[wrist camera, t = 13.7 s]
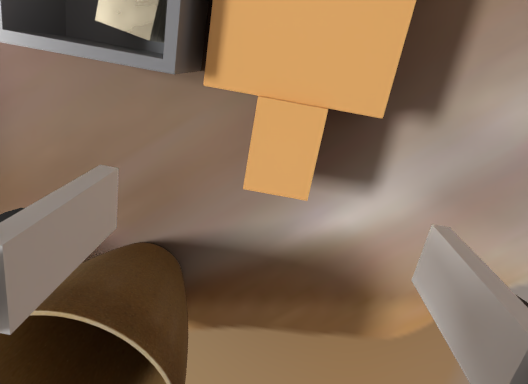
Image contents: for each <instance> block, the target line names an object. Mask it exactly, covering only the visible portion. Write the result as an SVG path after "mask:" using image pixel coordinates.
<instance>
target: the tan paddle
mask: <svg viewBox="0 0 528 384" xmlns="http://www.w3.org/2000/svg"><path fill="white" fill-rule="evenodd" d="M415 3H416V0H213V4H212V13H211V22H210V31H209V40H208V49H207V57H206V66H205V75H204V84H203V85H204V86H209V87H214V88H220V89H225V90H231V91H236V92H241V93H247V94H252V95H258V100H257V106H256V112H255V119H254V125H253V131H252V137H251V143H250V149H249V155H248V161H247V167H246V174H245V180H244V186H243V189H246V190H251V191H257V192H262V193H268V194H273V195H278V196H284V197H289V198H295V199H300V200H306V201H307V200H308V195H309V191H310V187H311V182H312V178H313V174H314V169H315V165H316V161H317V156H318V152H319V148H320V143H321V139H322V135H323V130H324V126H325V122H326V117H327V113H328V109H333V110H339V111H344V112H350V113H355V114H361V115H366V116H371V117H377V118H382V119H383V116H384V112H385V109H386V105H387V102H388V98H389V95H390V91H391V88H392V84H393V80H394V77H395V73H396V70H397V66H398V63H399V59H400V56H401V52H402V49H403V45H404V42H405V38H406V35H407V31H408V28H409V24H410V21H411V17H412V14H413V10H414V7H415Z"/></svg>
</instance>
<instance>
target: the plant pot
mask: <svg viewBox="0 0 528 384" xmlns="http://www.w3.org/2000/svg"><path fill="white" fill-rule="evenodd" d="M187 353H188V312H187V300H186V292H185V286H184V280H183V275H182V271H181V268H180V265H179V263H178V261H177V260H176V258H175V257H174V256H173V255H172V254H171V253H170V252H168V251H167V250H166V249H164V248H162V247H160V246H158V245H155V244H152V243H134V244H130V245H127V246H123V247H120V248H117V249H114V250H111V251H109V252H106V253H104V254H101V255H99V256H96V257H94V258H92V259H90V260H88V261H85V262H83V263H81V264H80V265H79V266H78V267H77V268H76V269H75V270H74V271H73V272H72V273H71V274H70V275H69V276H68V277H67V278H66V279H65V280H64V281H63V282H62V283H61V284H60V285H59V286H58V287H57V288H56V289H55V290H54V291H53V292H52V293H51V294H50V295H49V296H48V297H47V298H46V299H45V300H44V301H43V302H42V303H41V304H40V305H39V306H38V307H37V308H36V309H35V310H34V311H33V312H32V313H31V314H30V316H29V317H28V318H27V319H26V320H25V321H24V322H23V323H22V324H21V325H20V326H19V327H18V328H17V329H16V330H15V331H14V332H13V333H12V334H11V335H8V334H2V333H0V384H185V378H186V368H187Z"/></svg>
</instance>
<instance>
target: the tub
mask: <svg viewBox="0 0 528 384" xmlns="http://www.w3.org/2000/svg"><path fill="white" fill-rule="evenodd" d="M98 1H99V0H0V42H2V43H8V44H13V45H18V46H24V47H29V48H35V49H40V50H45V51H51V52H56V53H62V54H67V55H73V56H78V57H83V58H89V59H94V60H100V61H105V62H110V63H116V64H121V65H127V66H132V67H138V68H143V69H148V70H154V71H159V72H165V73H170V74H180V73H187V72H194V71H201V67H202V58H203V48H204V39H205V30H206V21H207V11H208V2H209V0H167V13H166V26H165V40H164V43H162V42H155V41H149V40H146V39H143V38H141V37H138V36H135V35H133V34H130V33H128V32H125V31H122V30H120V29H117V28H114V27H112V26H109V25H107V24H104V23H101V22H99V21H96V20H95V17H96V12H97V6H98Z"/></svg>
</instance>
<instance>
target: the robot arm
mask: <svg viewBox="0 0 528 384" xmlns="http://www.w3.org/2000/svg"><path fill="white" fill-rule="evenodd" d="M118 172H119V168H115V167H110V166H104V165H99V166H97V167H95V168H94V169H92V170H90V171H89V172H87V173H85V174H83V175H82V176H80V177H78V178H76V179H75V180H73V181H71V182H70V183H68V184H66V185H64V186H63V187H61V188H59V189H57V190H56V191H54V192H52V193H51V194H49V195H47V196H45V197H44V198H42V199H40V200H38V201H37V202H35V203H33V204H31V205H30V206H28V207H26V208H19V209H15V210H12V211H8V212H5V213H3V214H1V215H0V333H2V334H8V335H11V334H12V333H13V332H14V331H15V330H16V329H17V328H18V327H19V326H20V325H21V324H22V323H23V322H24V321H25V320H26V319H27V318H28V317H29V316H30V314H31V313H32V312H33V311H34V310H35V309H36V308H37V307H38V306H39V305H40V304H41V303H42V302H43V301H44V300H45V299H46V298H47V297H48V296H49V295H50V294H51V293H52V292H53V291H54V290H55V289H56V288H57V287H58V286H59V285H60V284H61V283H62V282H63V281H64V280H65V279H66V278H67V277H68V276H69V275H70V274H71V273H72V272H73V271H74V270H75V269H76V268H77V267H78V266H79V265H80V264H81V263H82V262H83V261H84V260H85V259H86V258H87V257H88V256H89V255H90V254H91V253H92V252H93V251H94V250H95V249H96V248H97V247H98V246H99V245H100V244H101V243H102V242H103V241H104V240H105V239H106V238H107V237H108V236H109V235H110V234H111V233H112V232H113V231H114V230H115V229H116V228H117V202H118ZM412 282H413V284H414V285H415V287H416V289H417V291H418V293H419V294H420V296H421V298H422V300H423V301H424V303H425V305H426V307H427V308H428V310H429V312H430V314H431V315H432V317H433V319H434V321H435V322H436V324H437V326H438V328H439V329H440V331H441V333H442V335H443V337H444V338H445V340H446V342H447V344H448V345H449V347H450V349H451V351H452V353H453V354H454V356H455V358H456V360H457V361H458V363H459V365H460V367H461V368H462V370H463V372H464V374H465V375H466V377H467V379H468V381H469V383H470V384H528V303H527V302H526V301H524V300H523V299H521V298H520V297H518V296H517V295H515V294H514V293H513V292H512V291H511V290H510V289H509V288H508V287H507V286H506V285H505V284H504V283H503V281H502V280H501V279H500V278H499V277H498V276H497V275H496V274H495V273H494V272H493V271H492V270H491V269H490V268H489V267H488V266H487V265H486V264H485V263H484V262H483V261H482V260H481V259H480V258H479V257H478V256H477V255H476V254H475V253H474V252H473V251H472V249H471V248H470V247H469V246H468V245H467V244H466V243H465V242H464V241H463V240H462V239H461V238H460V237H459V236H458V235H457V234H456V233H455V232H454V231H453V230H452V229H451V228H450V227H445V226H439V225H433V224H432V226H431V228H430V231H429V234H428V237H427V239H426V242H425V245H424V248H423V250H422V253H421V256H420V259H419V261H418V264H417V267H416V270H415V272H414V275H413V278H412Z"/></svg>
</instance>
